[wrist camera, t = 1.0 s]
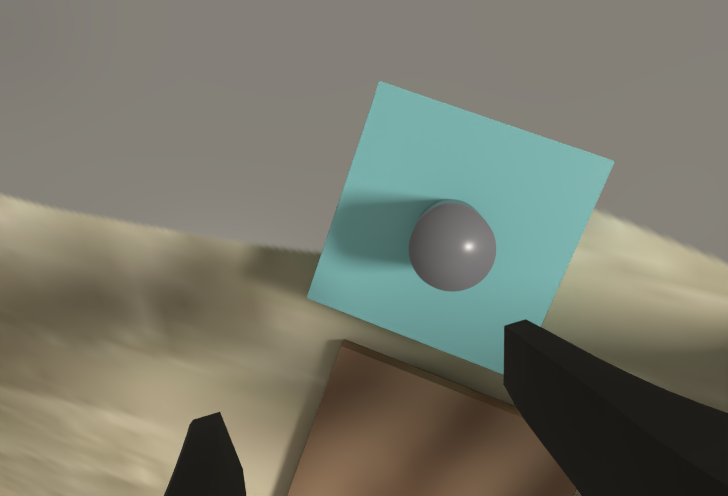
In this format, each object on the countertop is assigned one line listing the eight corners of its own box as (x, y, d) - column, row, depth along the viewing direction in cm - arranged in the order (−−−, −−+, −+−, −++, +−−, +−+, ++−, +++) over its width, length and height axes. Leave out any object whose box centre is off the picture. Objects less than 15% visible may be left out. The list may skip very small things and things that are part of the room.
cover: (583, 162, 24) (658, 159, 16) (504, 344, 26) (533, 426, 18) (390, 95, 25) (364, 60, 16) (328, 277, 27) (278, 325, 19)
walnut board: (591, 436, 26) (597, 447, 25) (503, 612, 28) (506, 628, 27) (344, 339, 27) (341, 345, 26) (281, 515, 30) (275, 527, 29)
